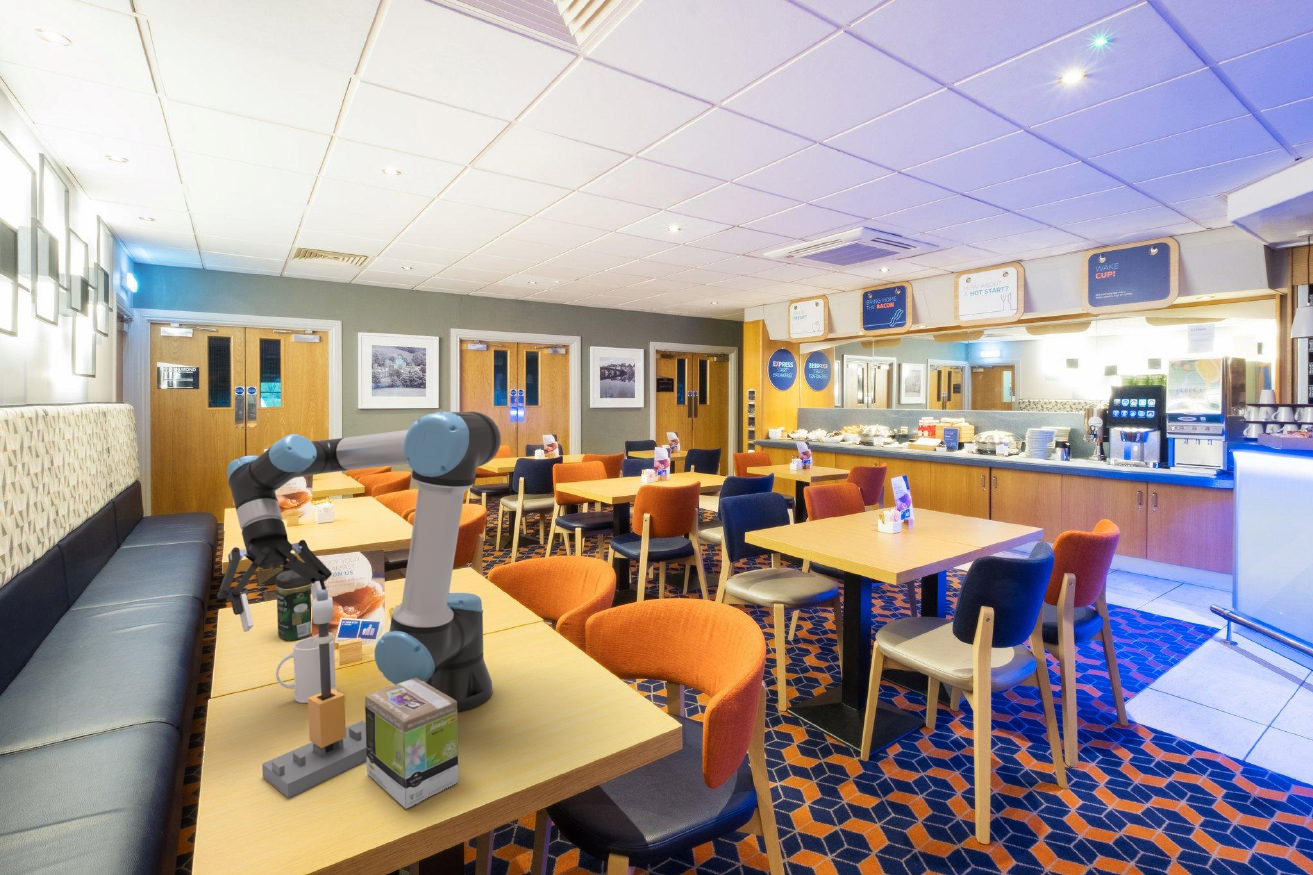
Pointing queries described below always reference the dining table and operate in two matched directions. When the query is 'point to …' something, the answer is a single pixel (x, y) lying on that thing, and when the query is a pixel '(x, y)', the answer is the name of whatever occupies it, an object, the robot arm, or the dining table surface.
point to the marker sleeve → (327, 719)
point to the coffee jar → (293, 605)
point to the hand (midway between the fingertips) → (287, 620)
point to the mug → (307, 669)
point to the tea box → (411, 740)
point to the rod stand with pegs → (311, 760)
